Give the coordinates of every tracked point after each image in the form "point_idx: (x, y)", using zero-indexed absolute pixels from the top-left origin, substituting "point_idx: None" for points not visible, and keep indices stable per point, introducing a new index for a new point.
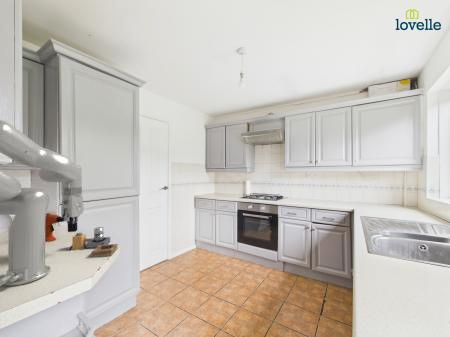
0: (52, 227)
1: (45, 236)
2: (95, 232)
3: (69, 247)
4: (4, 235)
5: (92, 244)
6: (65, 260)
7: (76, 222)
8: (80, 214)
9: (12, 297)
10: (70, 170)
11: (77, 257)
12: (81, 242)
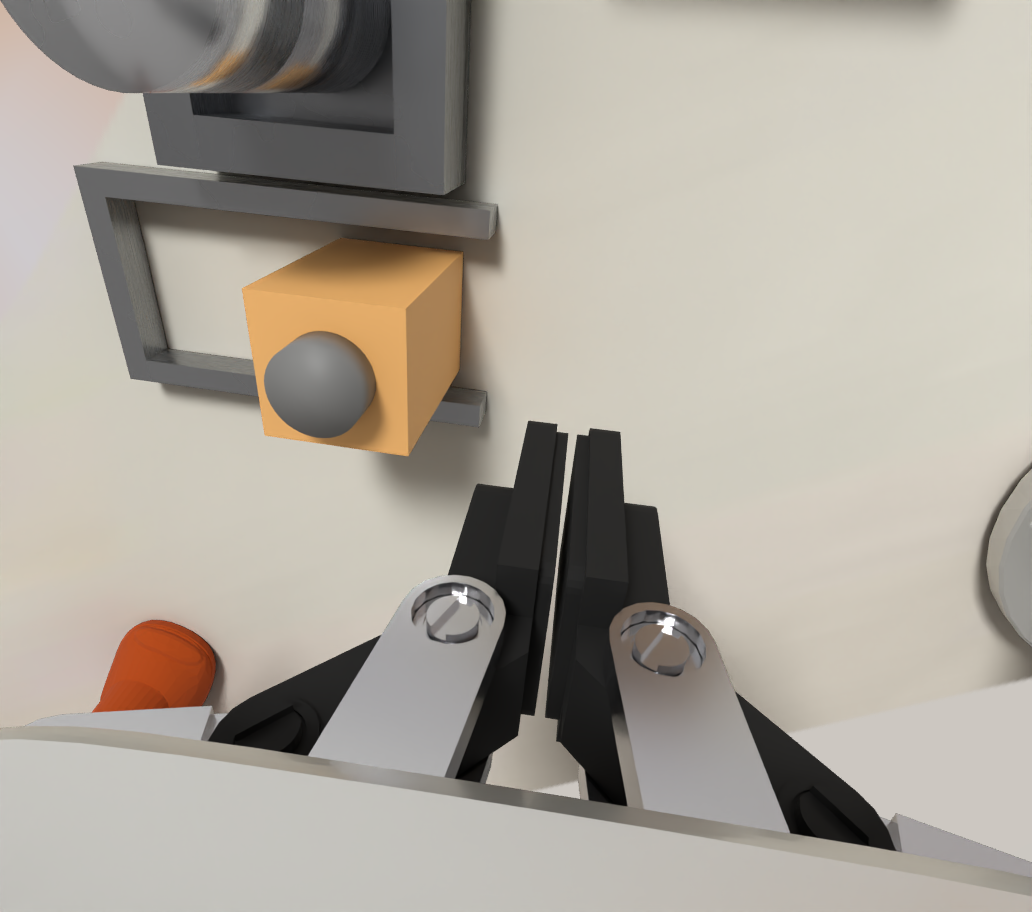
0: None
1: None
2: (263, 24)
3: (462, 413)
4: None
5: (454, 71)
6: (871, 311)
7: (538, 572)
8: (295, 761)
9: None
10: None
11: (828, 179)
12: (437, 280)
